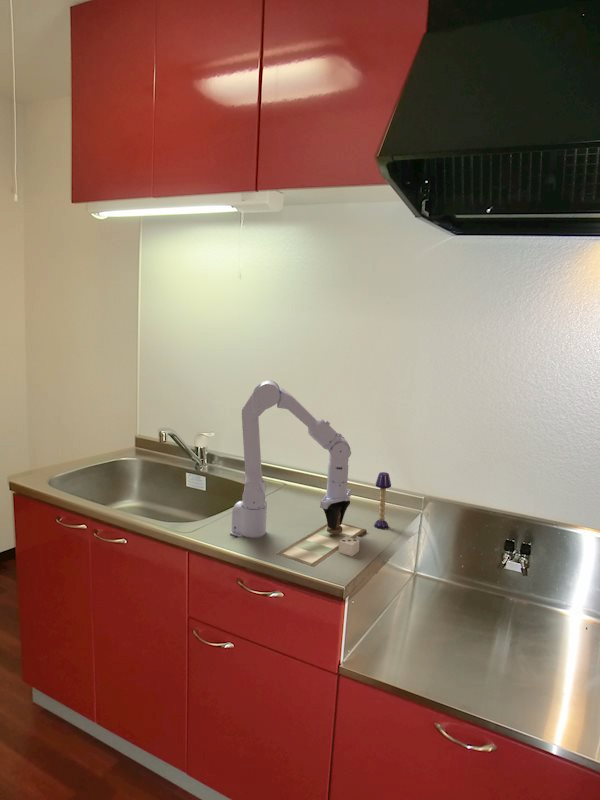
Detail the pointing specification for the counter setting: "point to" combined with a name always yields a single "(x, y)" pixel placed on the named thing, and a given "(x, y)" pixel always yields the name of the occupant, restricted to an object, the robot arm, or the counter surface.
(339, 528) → the pawn
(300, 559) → the game board
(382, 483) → the toy lamp
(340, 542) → the die
